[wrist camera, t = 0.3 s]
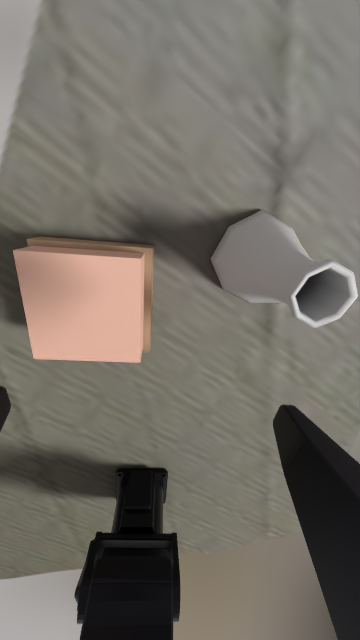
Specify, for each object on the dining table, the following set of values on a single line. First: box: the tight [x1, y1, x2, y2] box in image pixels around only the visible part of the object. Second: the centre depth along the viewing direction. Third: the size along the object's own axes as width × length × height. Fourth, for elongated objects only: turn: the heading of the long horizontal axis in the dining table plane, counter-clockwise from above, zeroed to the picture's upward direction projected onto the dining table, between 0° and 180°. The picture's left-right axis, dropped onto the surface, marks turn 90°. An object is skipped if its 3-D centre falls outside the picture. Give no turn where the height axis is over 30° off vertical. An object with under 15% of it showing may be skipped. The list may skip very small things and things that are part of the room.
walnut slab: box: [27, 236, 154, 352], centre depth 21 cm, size 9×9×2 cm
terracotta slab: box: [13, 246, 144, 363], centre depth 18 cm, size 8×8×2 cm
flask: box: [211, 210, 358, 328], centre depth 16 cm, size 7×7×10 cm
